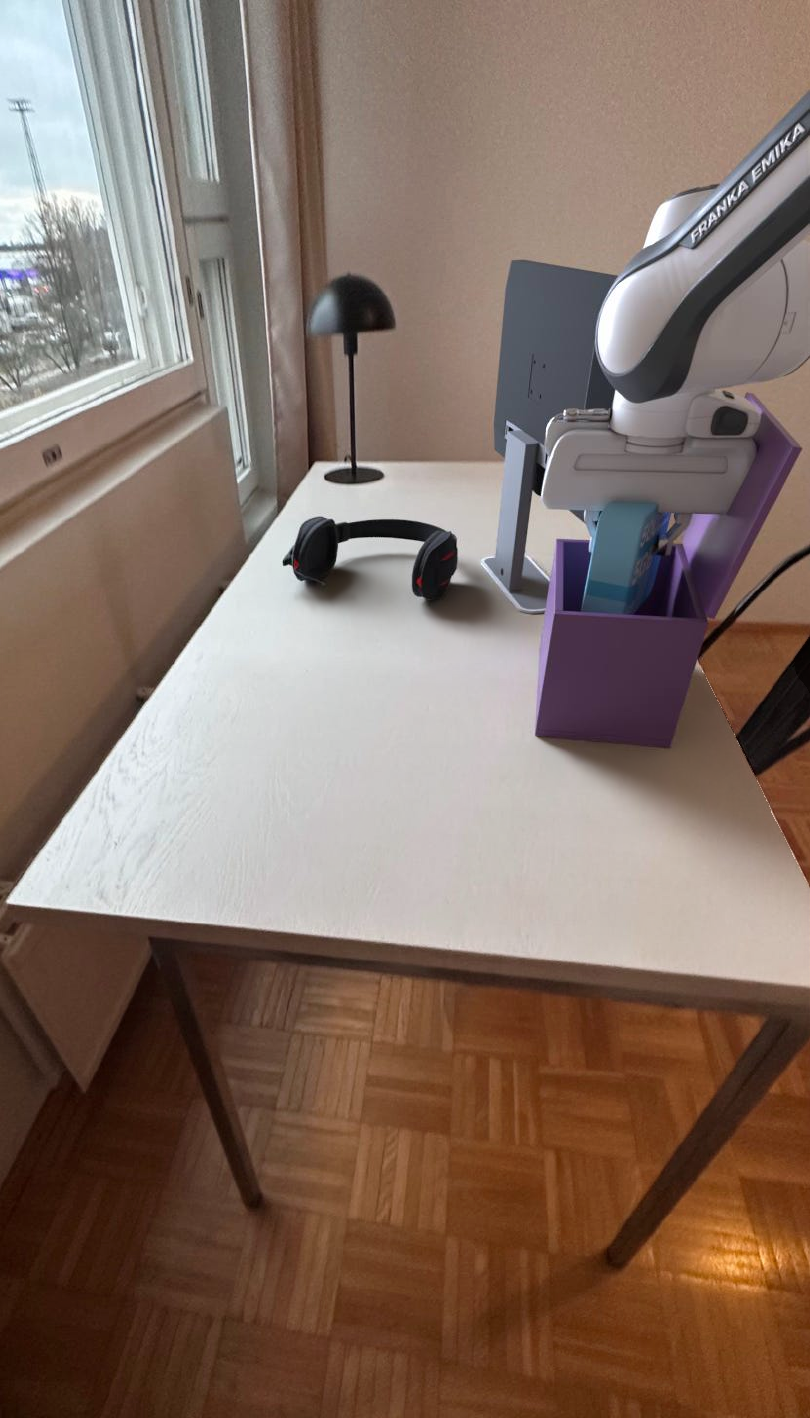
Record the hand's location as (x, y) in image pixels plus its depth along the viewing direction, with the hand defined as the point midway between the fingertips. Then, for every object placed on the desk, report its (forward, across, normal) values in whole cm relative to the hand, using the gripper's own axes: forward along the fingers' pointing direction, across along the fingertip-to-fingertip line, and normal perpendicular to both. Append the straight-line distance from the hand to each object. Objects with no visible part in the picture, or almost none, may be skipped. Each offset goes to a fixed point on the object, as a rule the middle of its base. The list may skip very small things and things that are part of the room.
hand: (628, 552), depth 80 cm
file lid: (-6, +8, 0) cm, 10 cm away
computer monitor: (+18, -10, +34) cm, 39 cm away
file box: (+18, 0, 0) cm, 18 cm away
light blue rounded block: (+6, 0, 0) cm, 7 cm away
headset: (+18, -35, +30) cm, 49 cm away
